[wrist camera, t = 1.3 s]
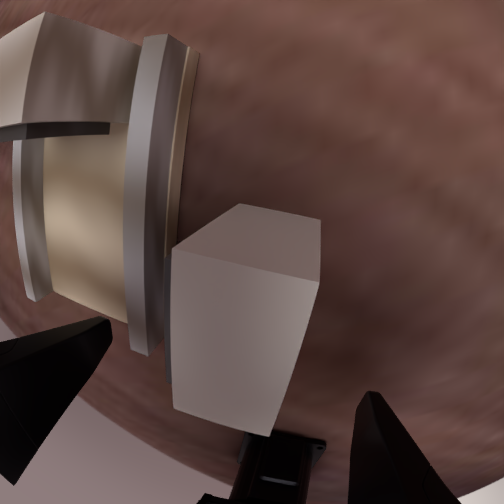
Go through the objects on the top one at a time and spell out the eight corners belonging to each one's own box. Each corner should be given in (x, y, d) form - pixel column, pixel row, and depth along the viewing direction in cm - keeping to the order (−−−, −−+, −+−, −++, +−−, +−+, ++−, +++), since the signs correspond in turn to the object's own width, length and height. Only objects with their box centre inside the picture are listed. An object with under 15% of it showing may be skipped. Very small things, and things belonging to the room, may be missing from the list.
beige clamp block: (174, 327, 18) (101, 417, 10) (53, 280, 20) (-20, 327, 12) (199, 53, 12) (91, -10, 4) (55, 74, 14) (-40, 70, 6)
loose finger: (320, 219, 14) (319, 282, 7) (291, 338, 16) (268, 437, 10) (227, 201, 14) (153, 243, 8) (214, 318, 17) (160, 403, 10)
